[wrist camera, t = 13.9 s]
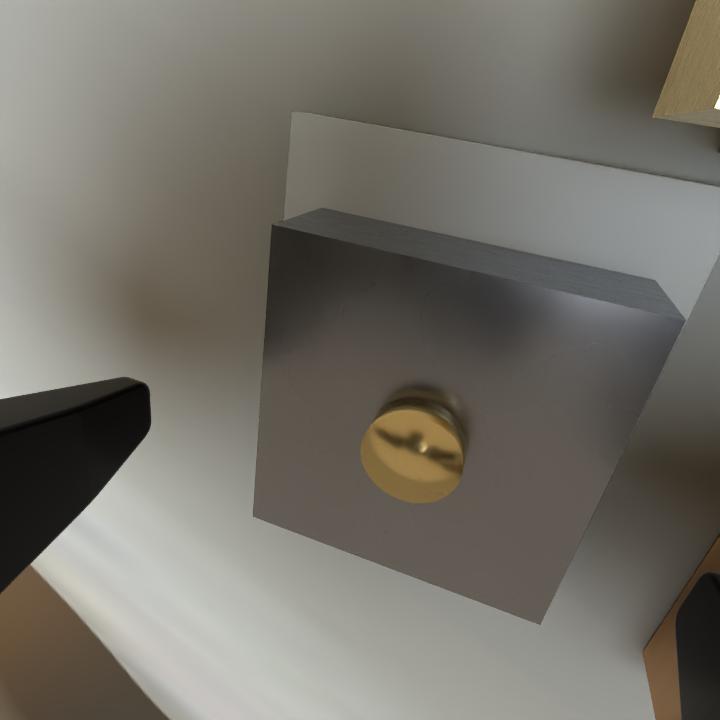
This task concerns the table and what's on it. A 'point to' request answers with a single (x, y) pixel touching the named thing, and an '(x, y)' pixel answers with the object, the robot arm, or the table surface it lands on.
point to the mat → (510, 200)
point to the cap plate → (448, 400)
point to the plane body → (671, 650)
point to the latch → (695, 71)
